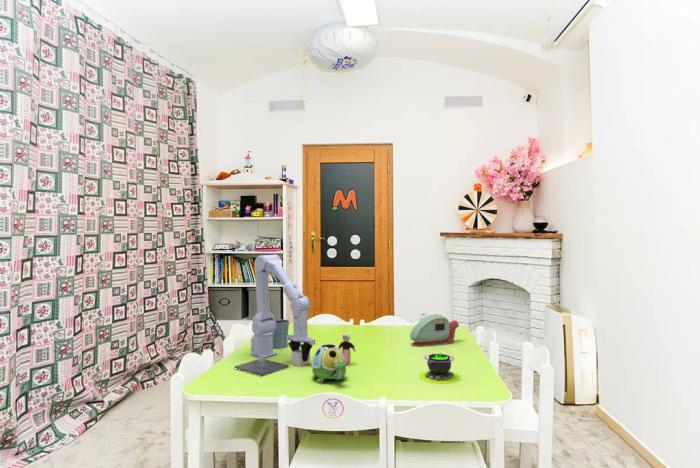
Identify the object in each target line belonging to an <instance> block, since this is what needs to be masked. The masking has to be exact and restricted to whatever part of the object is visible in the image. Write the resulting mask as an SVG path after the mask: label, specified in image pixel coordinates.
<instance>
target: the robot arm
mask: <svg viewBox="0 0 700 468" xmlns="http://www.w3.org/2000/svg"><path fill="white" fill-rule="evenodd" d="M270 274H274V275H275V277H276V278H277V280H278V281H279V282H280V283H281V285H282V286H283V288H282V290H283V293H284V295H285V296H286V297H287V299H288V301H289V302H290V304H289V308H290V310H291V315H292V317H293V318H292V319H293V320H292V321H293V322H292V323H293V328H292V330H293V334H288V335H287V336H286V340H288V341H289V342H287V345H288V347H290V350H291V352H293V351H296V350H300V349H301V350H302V359H303V361H307V360H308V356H309V352H310V353H311V349H312V348H313V346H314V345H316V339H315V338H312V337H310V336H308V335H309V334H308V310H310V308H311V301H310V299H309V297H308V296H306V295H304V294H303V293H302V292H301V291H300V288H299V287H298V285H297V284H296V283H295V282H293V281H291V280H290V278H289V276H288V274H287V272H286V271H285V269H284V267H283V260H282V259H281V257H280V255H278V254H275V253H274V254H267V255H266V254H264V255H262V254H261V255H258V256H257V257H256V259H254V276H255V292H256V296H255V297H256V308H257V309H256V311H257V313H256V314H255V315H254V316H253V317H252V324H251V331H252V333H253V335H252V336H251V337H250V338H251V339H250V352H249V355H250V356H255V357H257V358H258V357H262V358H265V359H266V358H268V357H271V356H274V355H277V354H278V353H277V352H274V351H273V334H274V331H275V330H276V321H275V319H276V318H275V314H273V313H272V312H271V306H270V305H271V303H270V291H269V290H270V289H269V276H270Z"/></svg>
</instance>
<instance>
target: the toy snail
mask: <svg viewBox="0 0 700 468" xmlns="http://www.w3.org/2000/svg"><path fill="white" fill-rule="evenodd" d="M459 326H460V324H459V322H458V321H457V320H452V321H449V319H448V318H447V317H445V316H444V315H442V314H435V313H434V314H430V315H427V316H425V317H424V318H422V319H420V320H419V321H418V322H417V323H416V324H415V325H414V326H413V327H412V329H411V331H410V334H409V336H410V339H411V340H412V341H413V342H411V344H410V345H411V347H425V346H424V345H429V346H436V345H435V344H440V345H445V344H444V343H449V344H452V343H453V342H454V341H455V336H456V330H457V328H458V327H459ZM451 342H452V343H451Z"/></svg>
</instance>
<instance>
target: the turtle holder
mask: <svg viewBox="0 0 700 468" xmlns="http://www.w3.org/2000/svg"><path fill="white" fill-rule="evenodd" d="M338 347H339V346H338V345H336V344H335V343H324V344H321V345H320V346H319V347H318V348H317V349H316V351H315V352H314V354H313V358H312V363H311V366H312V370H311V371H312V374H313V376H314V377H315V378H317V379H316V382H317V383H318V384H323V383H324V380H325V379H327V380H336V381H337V380H342V381H345V380H346V379H347V378H348V377H347V376H346V373H347V365H346V361H345V358H344V355H343V353H342V349H339V348H338Z"/></svg>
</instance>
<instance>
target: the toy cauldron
mask: <svg viewBox="0 0 700 468" xmlns="http://www.w3.org/2000/svg"><path fill="white" fill-rule="evenodd" d="M431 350H432V351H433V350H438V348H436V347H435V348H433V349H429V350H428V352H430V351H431ZM443 350H445V348H442V353H441V352H440V351H439V353H431V352H430V354H427V355H424V356H423V359H424V360H426V361H427V362H426V364H427V367H428V370H426V371H421V372H420V373H419V375H418V378H420V380H423V381H424V382H426V383H427V382H428V383H431V384H453V383H456V382H458V381H460V380H461V376H460V375H459V374H457V373H455V372H452V371H451V368H452V362H454V361H455V360H456V358H455V357H454V356H452V355H449V354H450V352H449V350H446V351H448V352H449V353H447V354H445V353H443V352H444V351H443Z"/></svg>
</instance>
